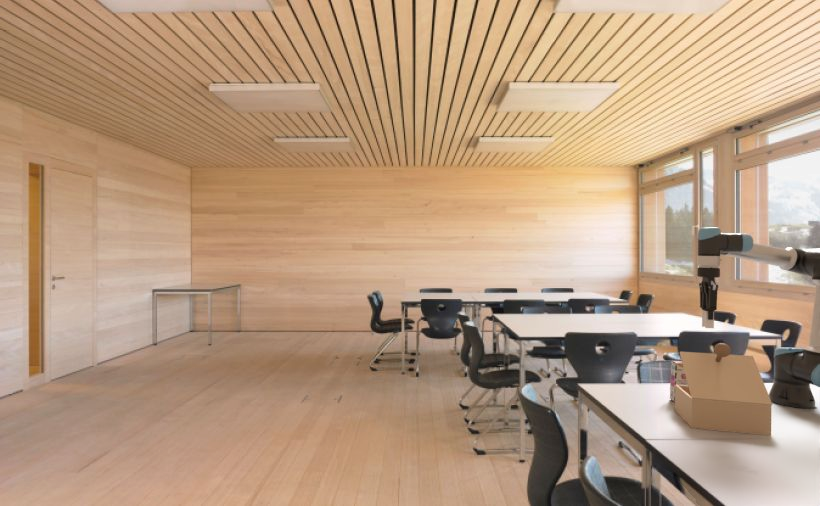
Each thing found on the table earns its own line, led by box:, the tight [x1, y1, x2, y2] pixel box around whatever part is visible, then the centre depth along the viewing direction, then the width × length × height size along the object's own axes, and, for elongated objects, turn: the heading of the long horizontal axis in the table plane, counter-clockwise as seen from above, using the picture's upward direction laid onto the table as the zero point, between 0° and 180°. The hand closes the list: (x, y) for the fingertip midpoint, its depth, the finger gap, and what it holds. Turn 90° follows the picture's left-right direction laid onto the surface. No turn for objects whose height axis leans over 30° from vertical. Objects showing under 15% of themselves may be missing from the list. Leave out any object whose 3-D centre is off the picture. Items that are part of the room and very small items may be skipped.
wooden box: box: [674, 385, 772, 436], centre depth 173 cm, size 24×20×10 cm
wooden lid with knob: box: [679, 342, 773, 407], centre depth 168 cm, size 24×20×9 cm
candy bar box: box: [669, 360, 688, 403], centre depth 197 cm, size 11×5×16 cm, turn 84°
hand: (707, 327), depth 186 cm, fingers open, 3 cm apart
